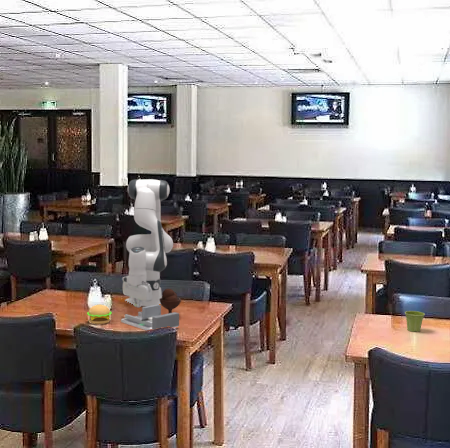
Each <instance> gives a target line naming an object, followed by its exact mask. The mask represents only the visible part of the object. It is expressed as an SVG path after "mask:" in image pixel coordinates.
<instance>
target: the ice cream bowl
mask: <svg viewBox="0 0 450 448" xmlns="http://www.w3.org/2000/svg"><path fill="white" fill-rule="evenodd" d="M161 293H162V298H160V303H161V307H162V306H163V308H165V309H167V310H168V313H167V314H169V313H173V310H175V309H176V308H177V307H178V306H179V305H180V304H181V302H182V299H181V298H180V297H178V294H177V293H176V292H175V291H174V290H173V289H172V288H166V289H164V290H163V291H162V292H161Z"/></svg>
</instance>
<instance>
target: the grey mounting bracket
mask: <svg viewBox="0 0 450 448" xmlns="http://www.w3.org/2000/svg"><path fill="white" fill-rule="evenodd" d="M137 313H138V314H137V315H131V314H124V318H121V319H120V322H121V323H123V324H125V325H128V326H132V327H135V328H138V329H141V330H144V331H147V330H150V329H156V328H161V327H167V326H170V327H178V326H179V327H180V312H172V313H169V314H168V313H164V314H161V315H159V316H154V317H152V322H150V321H147V320H145V321H141V320H142V311H137Z"/></svg>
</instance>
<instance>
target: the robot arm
mask: <svg viewBox="0 0 450 448" xmlns="http://www.w3.org/2000/svg"><path fill="white" fill-rule="evenodd" d="M170 190H171V189H170V185H169V183H168V181H166V180H162V179H160V180H158V179H153V178H151V179H150V178H149V179H147V178H146V179H135V178H134V179H132V180H130V181H129V184H128V186H127V193H128V196H129V197H130V199H132V200H134V201H135V202H134V209H133V219H134V221H135V223H136V225H138V226H139V227H140V228H143V229H146V230H147V231H150V232H151V233H147V234H143V233H141V234H133V235H129V236H128V238H127V239H126V242H125V243H126V244H125V247H126V250H127V252H128V253H129V255H128V268H129V269H128V275H127V276H123V277H122V293H123V295H124V296H127V297H128V298H126V299H124V302H126V301H127V302H126V303H128V302H129V303H128V304H130V303H131V304H130V305H132V304H133V305H132V306H134V307H135V308H141V307H147V306H152V305H157V304H161V303H160V298H162V296H163V295H162V293H163V292H162V287H160V286H161V282H162V281H161V278H160V276H161V272H162V271H164V270H165V269H166V268H167V265H168V261H167V254H168V253H170V252H171V251H172V249H173V248H174V242H173V237H171V236H170V235H169V234H168V233H167V232H166V231H165V230H164V228H163V225H162V219H161V212H162V211H161V202H162V201H164V200H167V199H168V197H169V194H170ZM166 253H167V254H166Z"/></svg>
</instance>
